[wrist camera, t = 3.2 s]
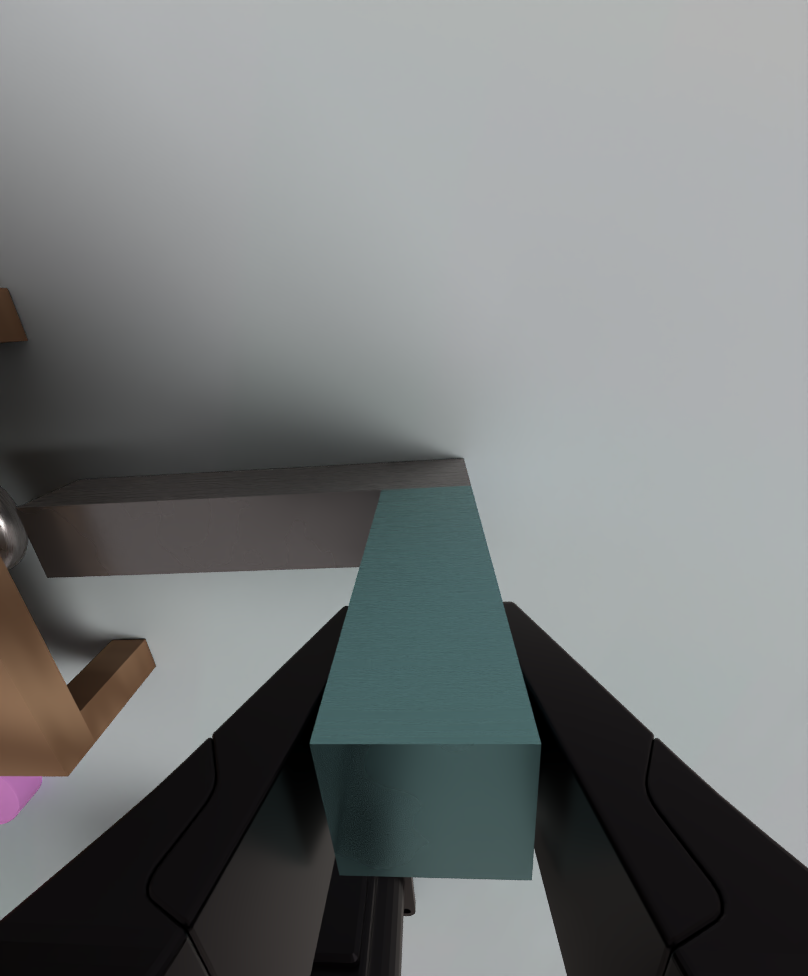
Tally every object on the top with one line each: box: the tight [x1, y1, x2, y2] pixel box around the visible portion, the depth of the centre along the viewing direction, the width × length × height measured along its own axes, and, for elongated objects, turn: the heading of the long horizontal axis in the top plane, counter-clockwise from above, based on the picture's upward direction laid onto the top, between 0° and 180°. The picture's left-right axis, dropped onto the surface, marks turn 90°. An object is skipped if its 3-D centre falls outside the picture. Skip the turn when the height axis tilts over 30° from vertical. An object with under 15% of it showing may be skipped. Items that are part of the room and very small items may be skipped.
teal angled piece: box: [15, 458, 541, 880], centre depth 10 cm, size 2×14×10 cm, turn 94°
